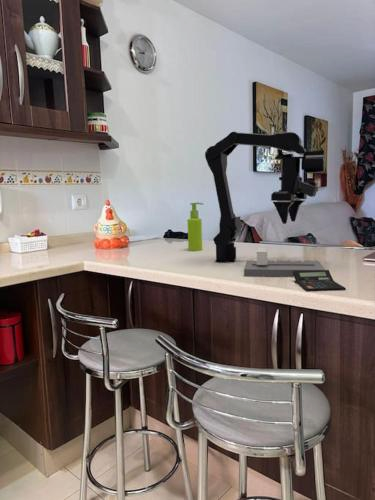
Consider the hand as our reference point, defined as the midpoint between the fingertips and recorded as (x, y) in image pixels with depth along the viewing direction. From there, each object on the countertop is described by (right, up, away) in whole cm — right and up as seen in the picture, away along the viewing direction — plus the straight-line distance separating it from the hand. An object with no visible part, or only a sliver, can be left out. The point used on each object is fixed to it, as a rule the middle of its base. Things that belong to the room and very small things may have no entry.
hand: (289, 222), depth 124 cm
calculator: (0, -18, -28) cm, 33 cm away
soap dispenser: (-29, -9, +38) cm, 49 cm away
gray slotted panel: (-5, -15, -11) cm, 19 cm away
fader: (-11, -13, -10) cm, 19 cm away
